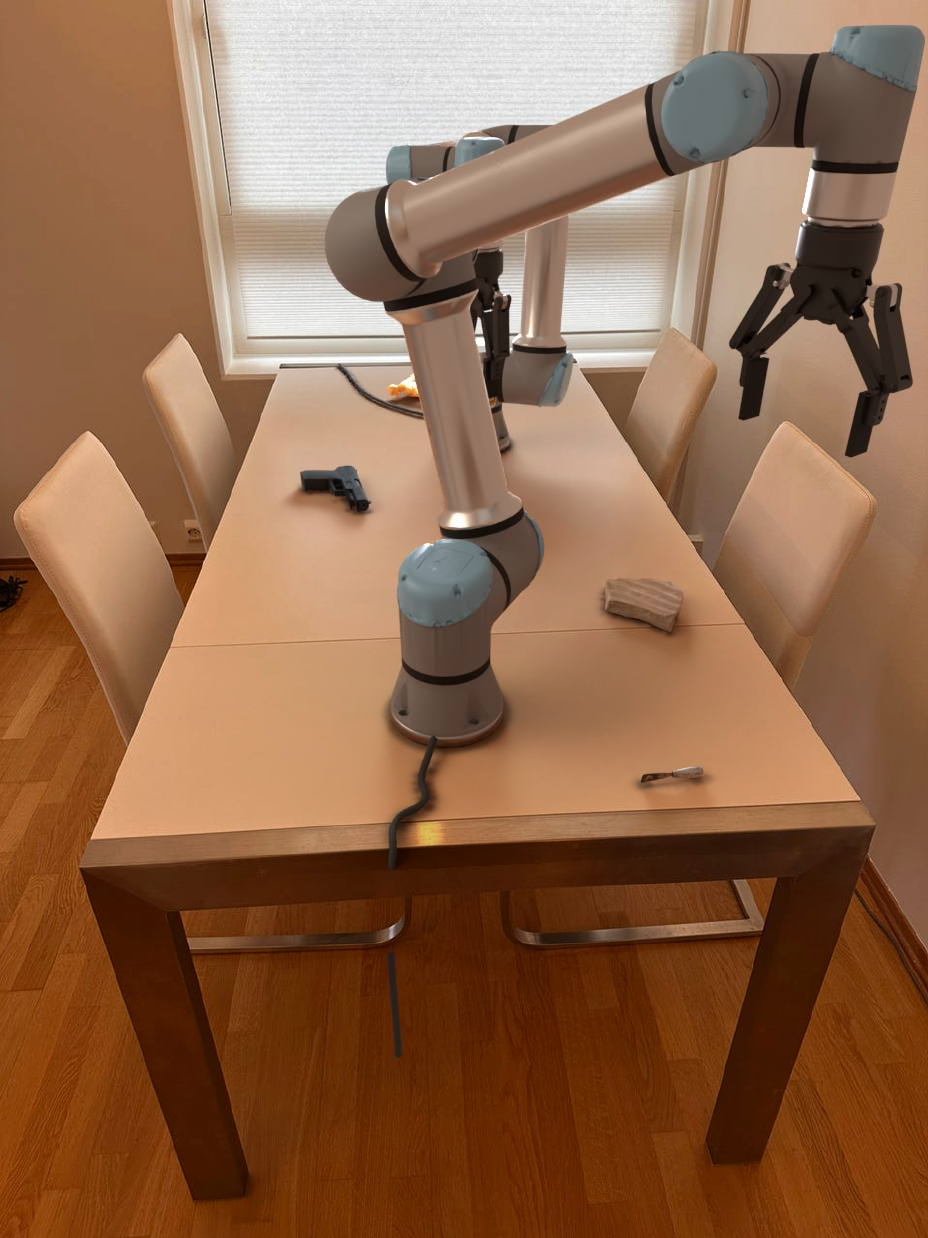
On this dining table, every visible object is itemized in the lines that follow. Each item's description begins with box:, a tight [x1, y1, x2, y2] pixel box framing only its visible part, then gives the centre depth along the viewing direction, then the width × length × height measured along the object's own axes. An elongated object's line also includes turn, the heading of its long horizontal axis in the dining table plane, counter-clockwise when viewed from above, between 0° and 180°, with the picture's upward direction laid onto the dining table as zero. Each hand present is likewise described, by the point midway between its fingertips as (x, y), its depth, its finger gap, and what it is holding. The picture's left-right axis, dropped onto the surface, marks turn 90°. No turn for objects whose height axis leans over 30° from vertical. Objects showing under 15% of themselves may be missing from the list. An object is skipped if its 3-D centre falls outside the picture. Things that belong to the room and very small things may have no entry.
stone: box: [604, 577, 684, 632], centre depth 143 cm, size 13×12×2 cm
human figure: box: [387, 373, 419, 398], centre depth 236 cm, size 20×20×4 cm
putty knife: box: [640, 765, 705, 784], centre depth 109 cm, size 1×8×2 cm, turn 103°
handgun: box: [299, 465, 372, 513], centre depth 180 cm, size 3×18×12 cm
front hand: (799, 435), depth 96 cm, fingers open, 13 cm apart
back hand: (479, 392), depth 153 cm, fingers closed on pill bottle, 6 cm apart
